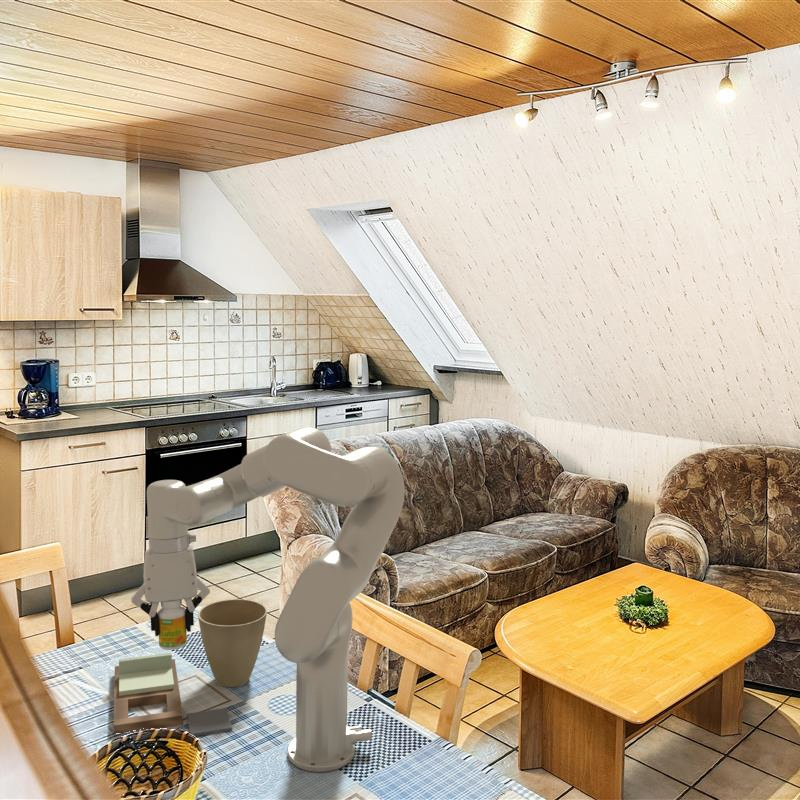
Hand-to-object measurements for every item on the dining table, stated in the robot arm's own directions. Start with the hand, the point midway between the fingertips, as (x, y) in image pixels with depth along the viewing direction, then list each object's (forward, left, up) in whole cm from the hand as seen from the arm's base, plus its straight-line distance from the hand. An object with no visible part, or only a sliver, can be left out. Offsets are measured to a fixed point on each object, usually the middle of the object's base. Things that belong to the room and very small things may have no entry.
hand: (172, 630), depth 158 cm
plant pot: (-14, -13, -19) cm, 27 cm away
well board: (+5, -10, -19) cm, 22 cm away
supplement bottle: (0, 0, -3) cm, 3 cm away
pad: (-7, +4, -19) cm, 20 cm away
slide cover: (+5, -13, -17) cm, 22 cm away
